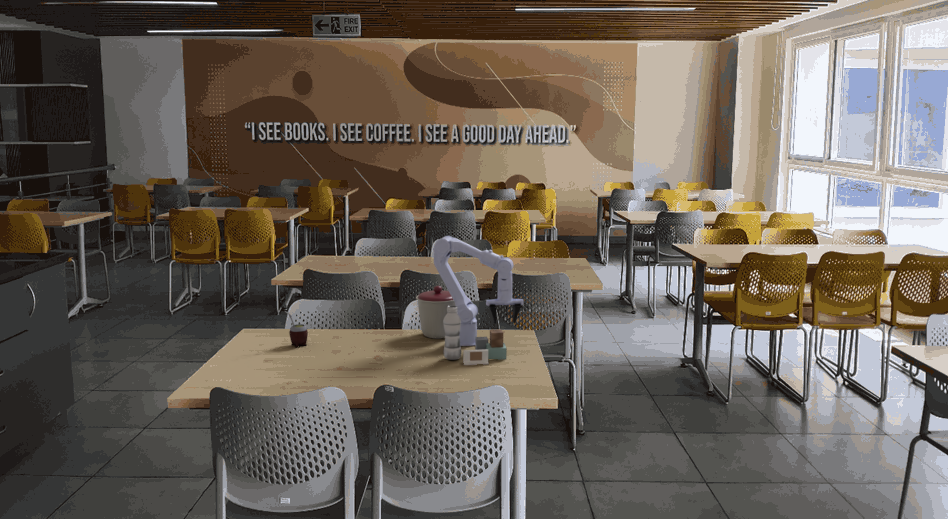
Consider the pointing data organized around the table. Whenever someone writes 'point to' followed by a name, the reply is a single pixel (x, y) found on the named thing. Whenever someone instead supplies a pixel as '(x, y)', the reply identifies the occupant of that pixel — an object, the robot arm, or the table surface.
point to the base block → (496, 352)
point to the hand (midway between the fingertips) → (504, 322)
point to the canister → (434, 311)
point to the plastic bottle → (452, 334)
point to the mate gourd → (298, 334)
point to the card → (475, 357)
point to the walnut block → (496, 338)
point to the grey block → (480, 343)
